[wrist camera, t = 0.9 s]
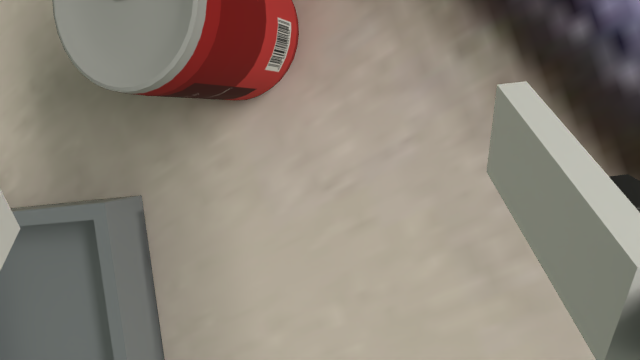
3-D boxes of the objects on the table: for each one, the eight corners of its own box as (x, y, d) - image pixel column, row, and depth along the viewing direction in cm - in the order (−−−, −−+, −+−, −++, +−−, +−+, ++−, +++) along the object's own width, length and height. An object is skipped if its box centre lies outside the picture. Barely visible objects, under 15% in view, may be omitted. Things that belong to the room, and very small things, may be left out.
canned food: (271, -61, 33) (153, -140, 23) (324, 66, 33) (228, 42, 23) (170, 3, 36) (25, -42, 26) (218, 121, 36) (89, 122, 26)
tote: (-31, 212, 44) (-76, 220, 41) (141, 195, 38) (104, 202, 35) (1, 416, 45) (-41, 439, 42) (174, 429, 39) (140, 457, 36)
